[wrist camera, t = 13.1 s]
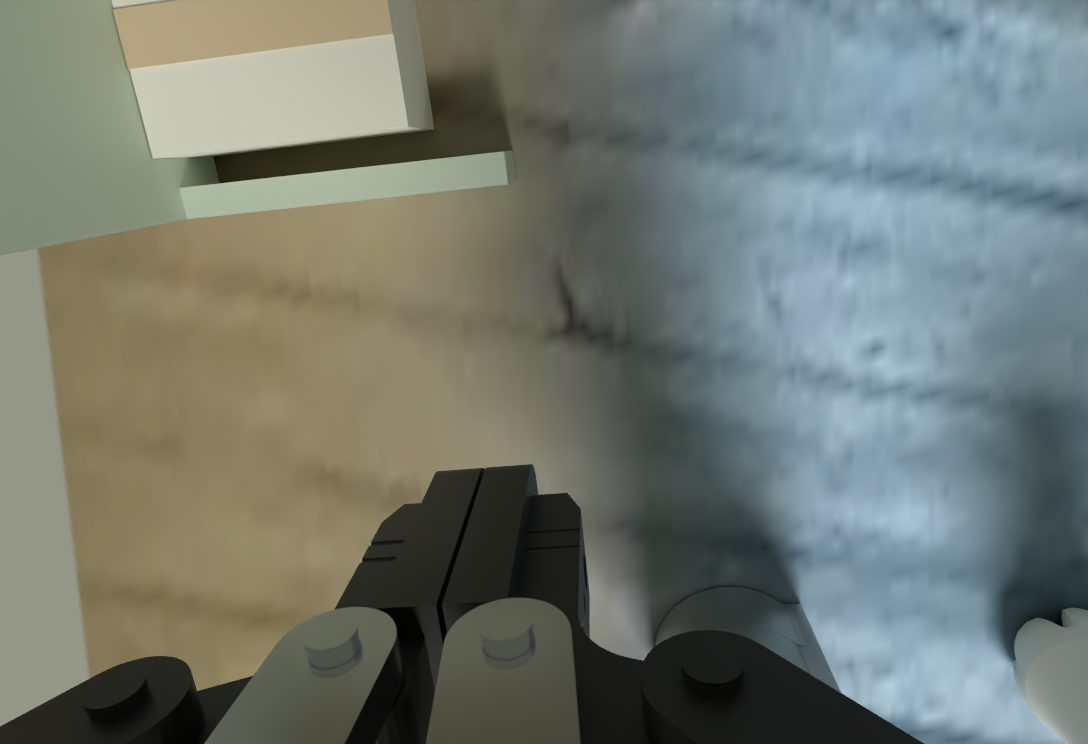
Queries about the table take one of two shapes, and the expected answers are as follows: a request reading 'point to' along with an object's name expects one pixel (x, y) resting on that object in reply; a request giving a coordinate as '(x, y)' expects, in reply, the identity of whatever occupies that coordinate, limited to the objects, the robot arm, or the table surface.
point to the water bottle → (1056, 672)
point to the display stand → (139, 144)
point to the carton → (272, 72)
